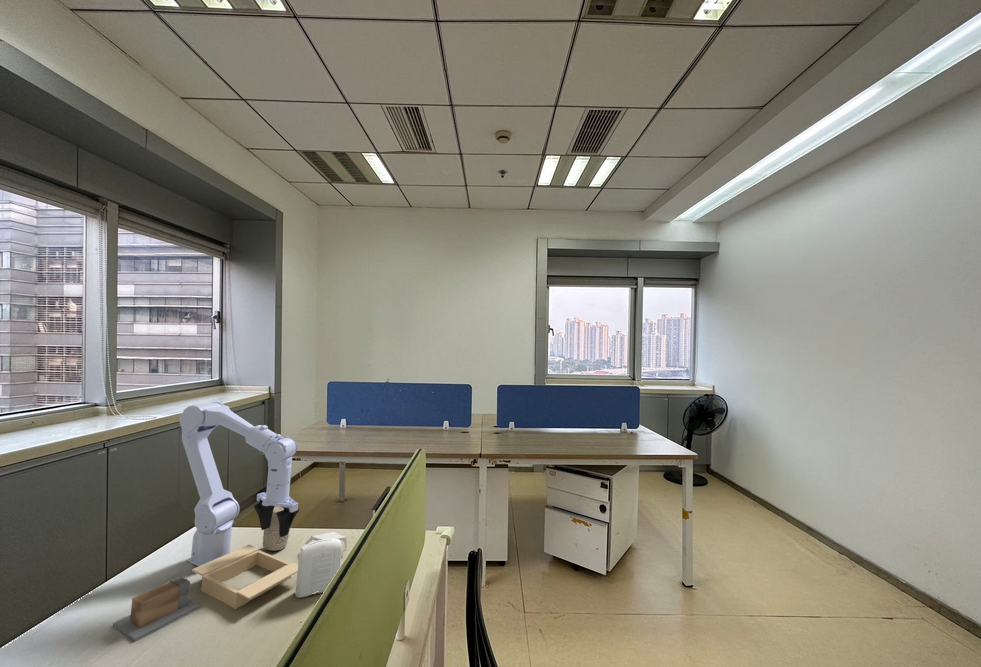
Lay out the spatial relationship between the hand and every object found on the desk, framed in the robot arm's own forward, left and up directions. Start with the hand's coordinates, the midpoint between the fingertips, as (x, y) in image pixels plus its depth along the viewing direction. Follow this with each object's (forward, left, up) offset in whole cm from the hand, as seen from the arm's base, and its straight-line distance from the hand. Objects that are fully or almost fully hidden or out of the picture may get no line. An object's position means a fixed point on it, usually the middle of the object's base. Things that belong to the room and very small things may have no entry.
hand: (274, 532), depth 108 cm
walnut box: (-3, -26, -9) cm, 27 cm away
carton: (+2, -8, -9) cm, 13 cm away
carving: (-8, +7, -10) cm, 14 cm away
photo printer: (+19, -1, -10) cm, 21 cm away
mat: (-3, -25, -9) cm, 27 cm away
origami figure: (+6, +13, -10) cm, 17 cm away
